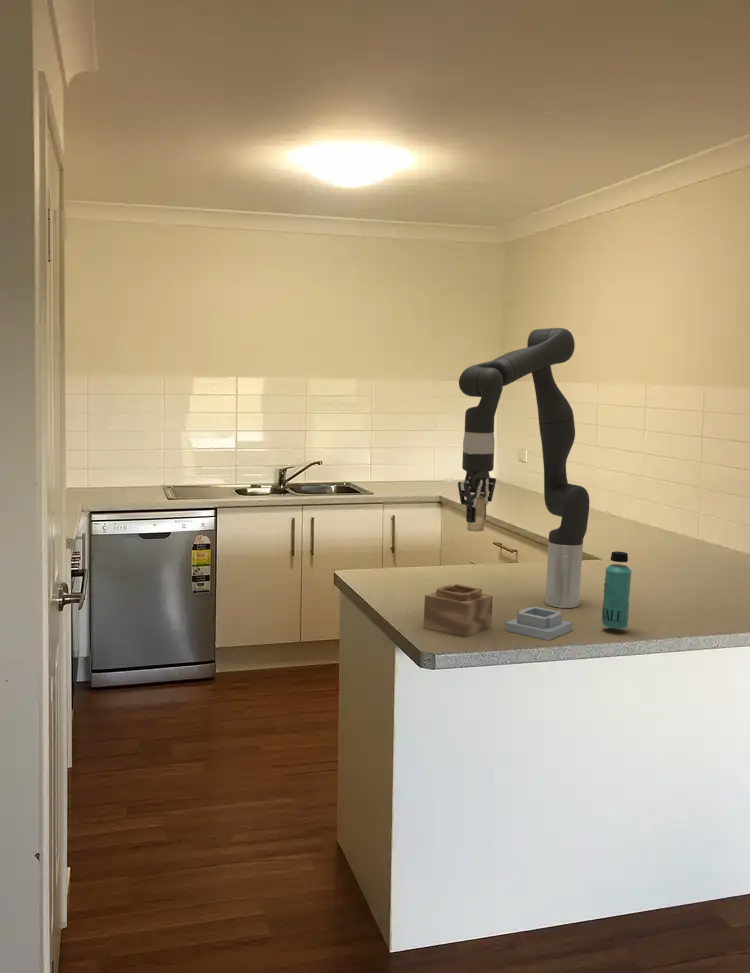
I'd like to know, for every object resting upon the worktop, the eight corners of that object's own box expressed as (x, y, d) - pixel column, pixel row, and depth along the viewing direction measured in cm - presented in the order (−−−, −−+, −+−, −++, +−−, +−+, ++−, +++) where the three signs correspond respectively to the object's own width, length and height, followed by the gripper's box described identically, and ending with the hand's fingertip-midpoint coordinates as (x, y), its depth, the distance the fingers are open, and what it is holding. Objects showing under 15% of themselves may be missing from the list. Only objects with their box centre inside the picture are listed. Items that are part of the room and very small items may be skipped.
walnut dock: (450, 618, 244) (452, 581, 243) (491, 627, 237) (493, 589, 235) (423, 627, 235) (425, 589, 233) (464, 637, 227) (466, 598, 226)
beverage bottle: (623, 627, 240) (628, 549, 238) (631, 635, 234) (636, 555, 231) (597, 627, 240) (602, 549, 238) (604, 634, 234) (610, 554, 231)
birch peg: (472, 527, 235) (474, 495, 234) (486, 529, 233) (488, 497, 232) (464, 529, 232) (465, 497, 231) (478, 532, 230) (479, 499, 229)
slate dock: (529, 621, 244) (530, 603, 243) (572, 630, 236) (573, 612, 236) (505, 630, 234) (506, 612, 234) (549, 640, 227) (550, 622, 226)
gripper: (481, 447, 238) (478, 515, 240) (448, 451, 227) (446, 522, 229) (507, 450, 233) (504, 519, 236) (475, 454, 222) (473, 526, 224)
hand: (475, 520), depth 232 cm, fingers closed on birch peg, 4 cm apart
